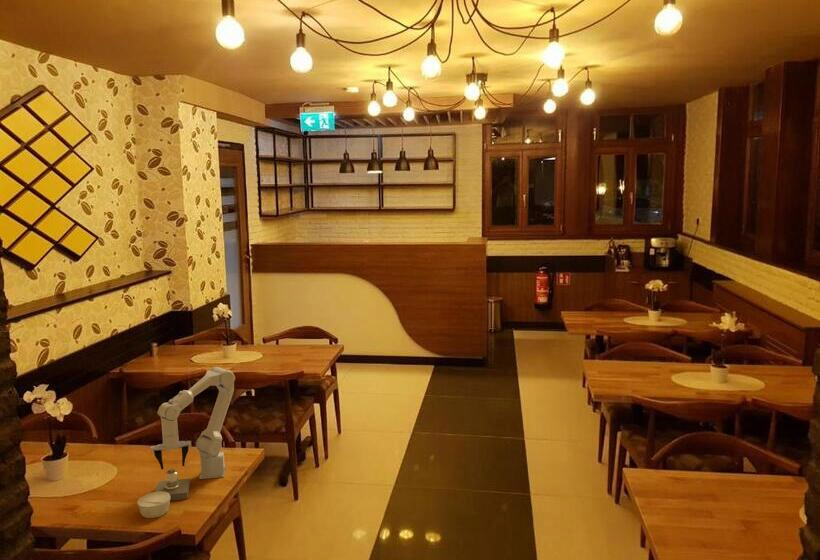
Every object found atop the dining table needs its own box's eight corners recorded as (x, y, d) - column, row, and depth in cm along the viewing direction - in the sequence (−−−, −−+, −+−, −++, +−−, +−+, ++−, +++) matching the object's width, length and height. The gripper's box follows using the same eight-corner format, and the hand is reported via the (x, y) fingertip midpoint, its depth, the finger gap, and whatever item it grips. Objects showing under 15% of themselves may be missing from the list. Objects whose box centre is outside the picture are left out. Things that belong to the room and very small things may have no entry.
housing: (177, 482, 250) (176, 466, 249) (180, 487, 246) (179, 471, 245) (163, 485, 248) (162, 469, 246) (166, 491, 243) (165, 475, 242)
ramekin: (138, 522, 226) (137, 509, 225) (138, 508, 236) (137, 494, 235) (172, 516, 230) (171, 502, 230) (170, 501, 240) (169, 488, 240)
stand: (190, 484, 254) (190, 478, 254) (187, 498, 242) (186, 492, 242) (158, 487, 251) (158, 481, 251) (153, 502, 240) (153, 496, 239)
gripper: (189, 427, 253) (192, 459, 255) (150, 432, 248) (153, 465, 250) (190, 433, 246) (192, 466, 248) (149, 439, 241) (152, 473, 243)
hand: (172, 466), depth 249 cm, fingers open, 7 cm apart
